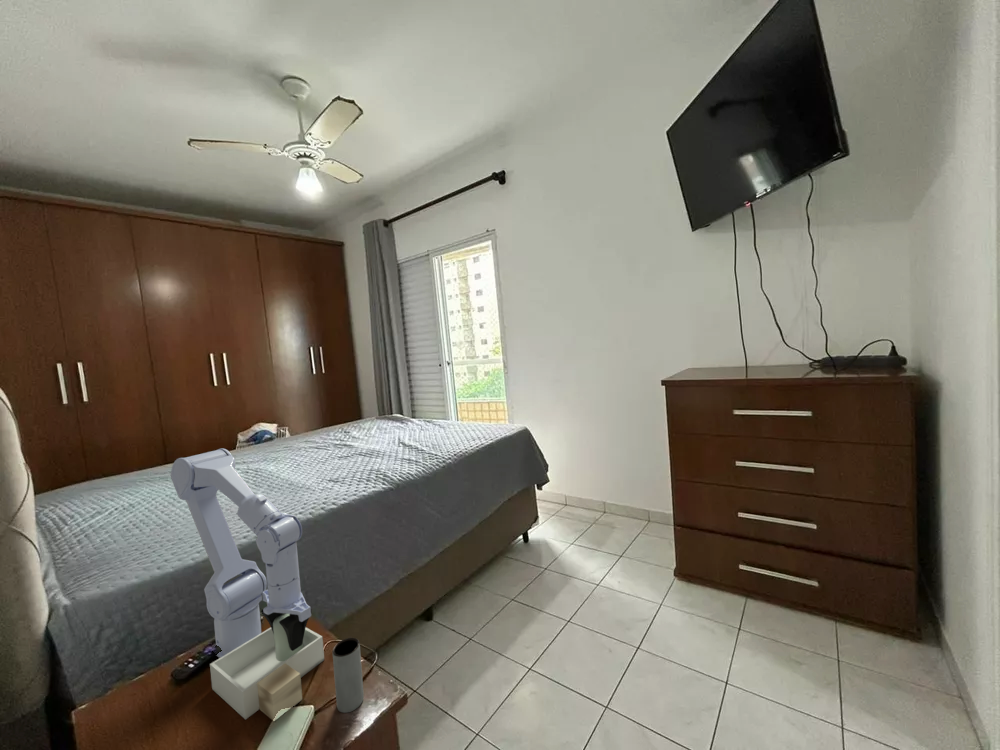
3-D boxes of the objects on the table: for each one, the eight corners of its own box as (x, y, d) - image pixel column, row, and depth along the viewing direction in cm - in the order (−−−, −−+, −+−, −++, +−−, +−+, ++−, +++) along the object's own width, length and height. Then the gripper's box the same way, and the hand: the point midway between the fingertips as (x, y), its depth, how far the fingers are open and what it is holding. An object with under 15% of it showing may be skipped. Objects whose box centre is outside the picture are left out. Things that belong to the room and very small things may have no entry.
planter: (354, 714, 67) (350, 657, 66) (331, 711, 68) (326, 655, 67) (368, 692, 71) (364, 638, 71) (346, 689, 72) (342, 636, 72)
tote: (212, 689, 74) (209, 664, 74) (289, 638, 87) (287, 617, 86) (245, 719, 67) (242, 692, 67) (324, 659, 80) (322, 636, 80)
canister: (294, 639, 83) (291, 608, 82) (308, 647, 80) (305, 615, 80) (270, 655, 78) (267, 622, 78) (284, 664, 76) (281, 630, 75)
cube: (259, 709, 69) (257, 682, 69) (287, 688, 73) (285, 663, 73) (274, 722, 66) (271, 694, 66) (302, 699, 71) (300, 673, 70)
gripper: (244, 579, 79) (250, 643, 80) (283, 599, 71) (289, 669, 72) (279, 562, 85) (284, 622, 86) (318, 579, 77) (323, 644, 78)
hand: (289, 642), depth 79 cm, fingers closed on canister, 5 cm apart
